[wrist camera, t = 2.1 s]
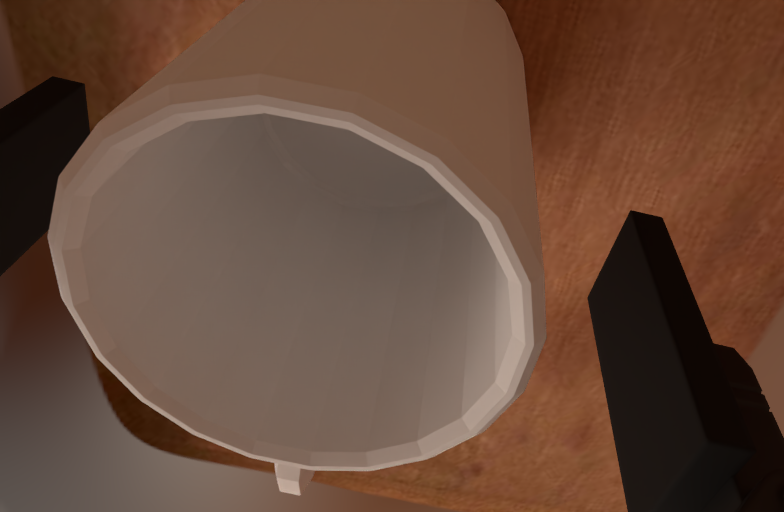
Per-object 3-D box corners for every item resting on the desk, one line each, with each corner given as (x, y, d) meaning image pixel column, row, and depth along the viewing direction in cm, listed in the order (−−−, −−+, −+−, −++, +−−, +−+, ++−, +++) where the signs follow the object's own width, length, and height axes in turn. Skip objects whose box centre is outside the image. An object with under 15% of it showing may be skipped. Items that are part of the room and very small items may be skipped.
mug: (241, 278, 23) (108, 532, 15) (243, -91, 16) (-10, 26, 8) (459, 322, 23) (439, 601, 15) (562, -30, 16) (628, 151, 8)
